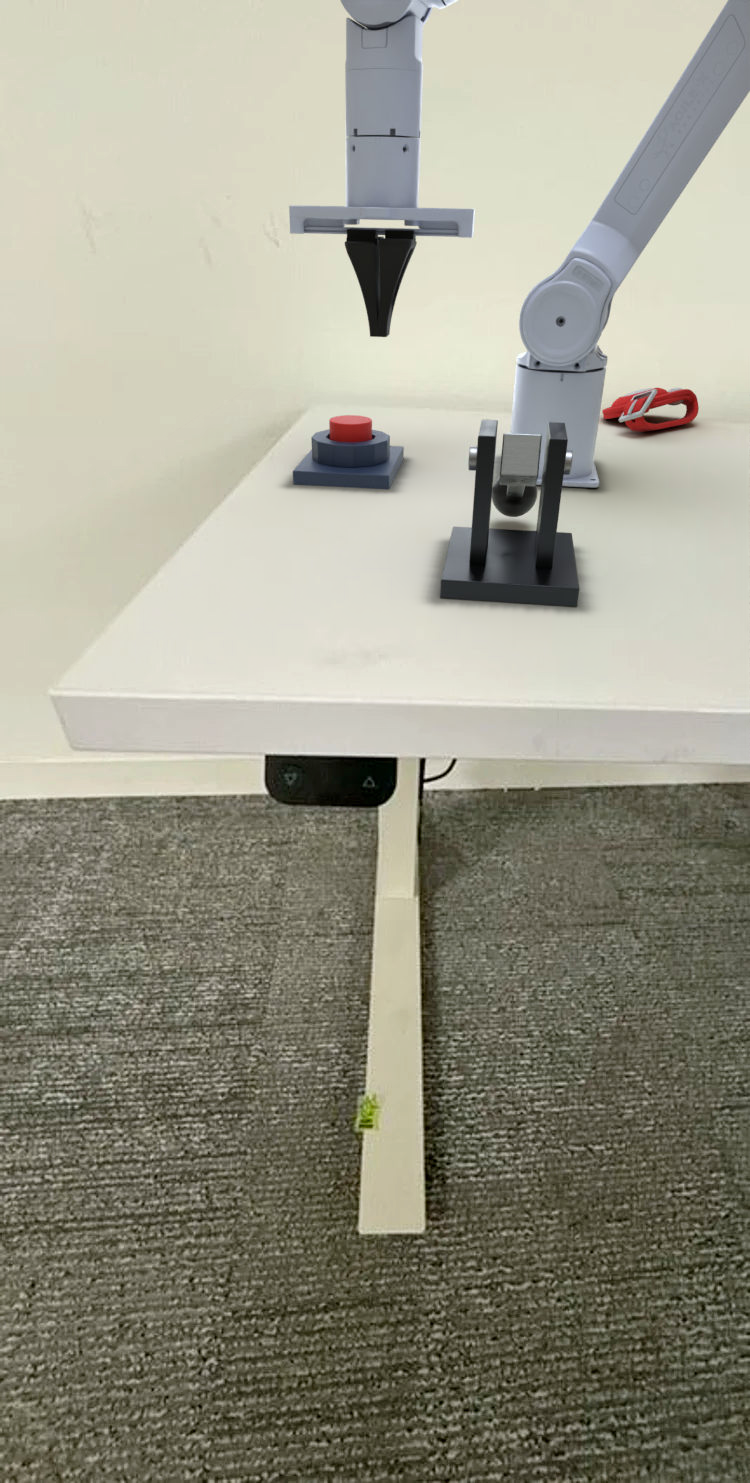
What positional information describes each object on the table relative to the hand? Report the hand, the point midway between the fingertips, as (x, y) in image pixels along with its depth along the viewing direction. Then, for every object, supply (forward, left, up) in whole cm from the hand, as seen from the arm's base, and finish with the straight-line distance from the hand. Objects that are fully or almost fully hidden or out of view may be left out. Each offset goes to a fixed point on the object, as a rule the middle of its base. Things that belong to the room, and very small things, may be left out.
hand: (379, 335), depth 73 cm
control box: (+4, -2, -10) cm, 11 cm away
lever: (+22, +12, -7) cm, 26 cm away
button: (+4, -2, -8) cm, 9 cm away
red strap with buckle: (-20, +25, -11) cm, 34 cm away
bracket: (+26, +12, -10) cm, 31 cm away
